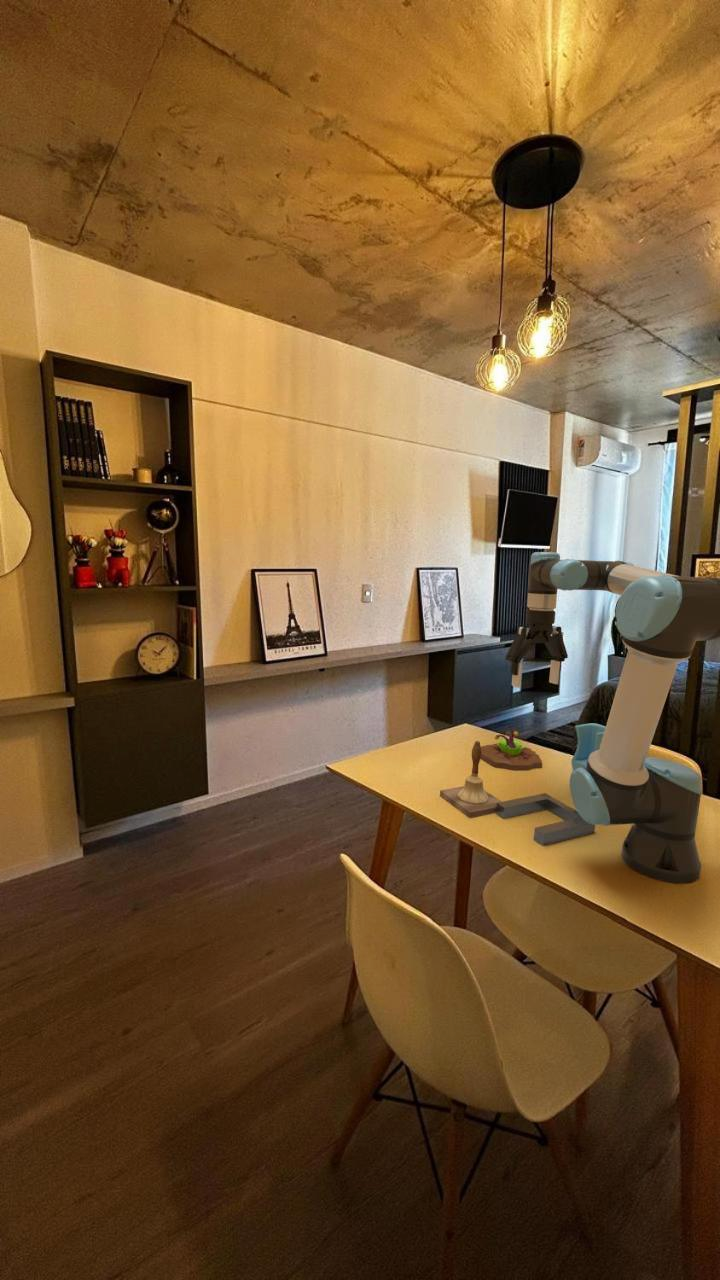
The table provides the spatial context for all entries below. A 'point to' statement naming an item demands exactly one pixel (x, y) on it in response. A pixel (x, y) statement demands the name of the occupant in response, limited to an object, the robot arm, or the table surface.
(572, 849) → the table surface
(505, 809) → the silver c-shaped bracket
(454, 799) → the walnut board
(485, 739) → the table surface
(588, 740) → the light blue holder
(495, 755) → the plant
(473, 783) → the hand bell
